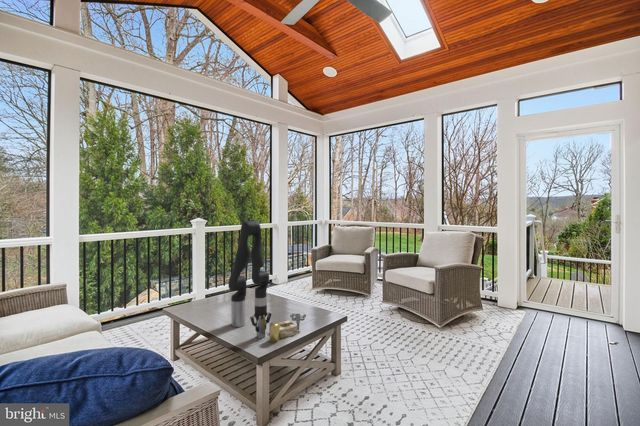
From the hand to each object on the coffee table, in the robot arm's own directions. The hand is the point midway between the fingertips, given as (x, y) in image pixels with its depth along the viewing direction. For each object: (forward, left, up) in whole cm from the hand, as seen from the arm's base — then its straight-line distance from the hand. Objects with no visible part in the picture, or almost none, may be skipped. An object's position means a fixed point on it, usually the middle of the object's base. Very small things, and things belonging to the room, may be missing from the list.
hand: (260, 330), depth 197 cm
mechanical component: (+3, +25, -4) cm, 25 cm away
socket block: (+3, +15, -4) cm, 16 cm away
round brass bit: (+9, +5, -4) cm, 11 cm away
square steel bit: (0, 0, -4) cm, 4 cm away
